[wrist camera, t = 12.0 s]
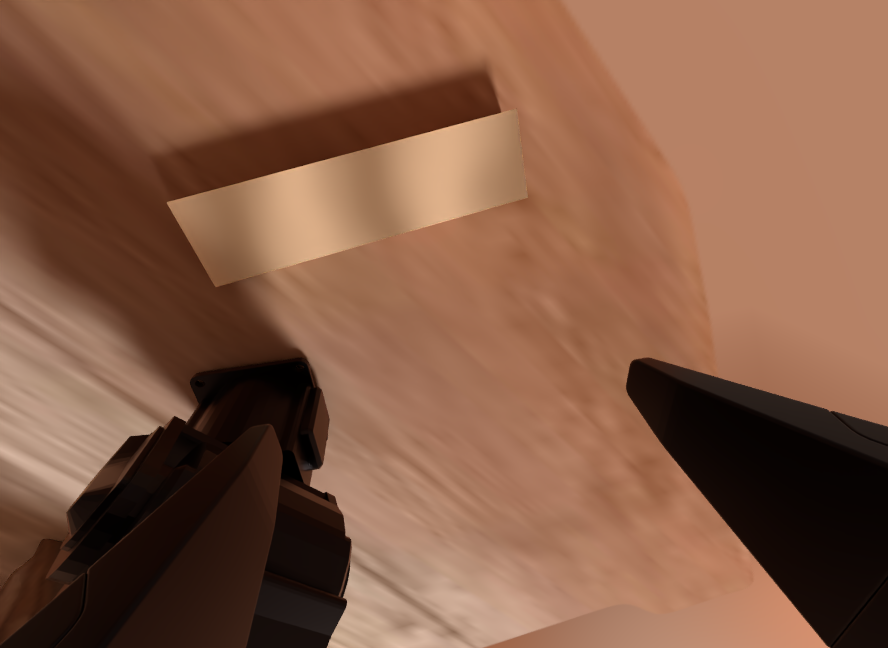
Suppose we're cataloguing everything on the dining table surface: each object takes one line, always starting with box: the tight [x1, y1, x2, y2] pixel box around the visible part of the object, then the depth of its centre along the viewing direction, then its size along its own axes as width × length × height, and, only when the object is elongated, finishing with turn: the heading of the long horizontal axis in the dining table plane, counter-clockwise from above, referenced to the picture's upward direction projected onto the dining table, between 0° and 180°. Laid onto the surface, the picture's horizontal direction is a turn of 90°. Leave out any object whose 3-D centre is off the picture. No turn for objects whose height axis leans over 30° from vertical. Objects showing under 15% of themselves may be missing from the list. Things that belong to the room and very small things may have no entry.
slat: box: [166, 109, 528, 287], centre depth 17 cm, size 16×4×2 cm, turn 103°
